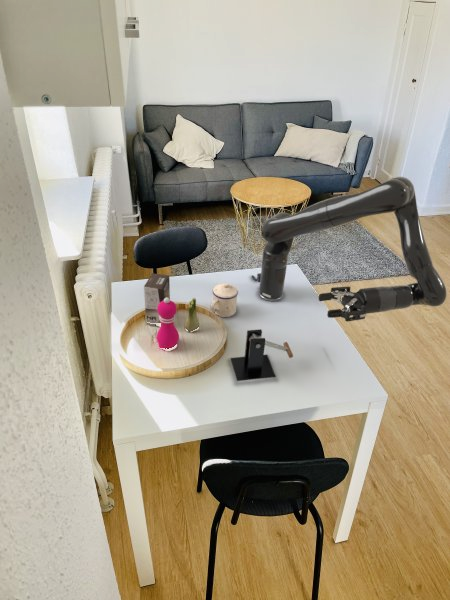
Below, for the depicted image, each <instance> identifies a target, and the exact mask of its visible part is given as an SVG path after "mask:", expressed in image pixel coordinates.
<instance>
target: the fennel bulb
mask: <svg viewBox="0 0 450 600" xmlns="http://www.w3.org/2000/svg"><path fill="white" fill-rule="evenodd" d="M196 307H197V299H196V297H193V298H192V299H191V300H190V301H189V305H188V306H187V309H188V315H187V317H186V320H185V323H184V329H185V328H186V329H187V330H188V331H193V330H195V329H197V328H198V327H199V328H200V321H199V318H198V315H197V312H196V310H197V309H196Z"/></svg>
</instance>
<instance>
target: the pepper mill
mask: <svg viewBox="0 0 450 600" xmlns="http://www.w3.org/2000/svg"><path fill="white" fill-rule="evenodd" d="M177 311H178V307H177V304H176V303H175V302H174V301H173V300H171V298H170V299H169V298H167V297H166V298H165V299H164V300H163V301H161V302H160V303H159V304H158V307H157V312H158V314H159V320H160V321H161V327H159V329H158V330H157V333H156V342H157V344H158V345H159V346H158V348H159V347H160V348H165V349H166V348H167V349H169V348H172V347H174V346H175V345H176V344H177V343H179V341H180V334H179V331H178V329H177V328H176V326H175V321H176V314H177ZM160 348H159V349H160Z"/></svg>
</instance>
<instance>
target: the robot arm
mask: <svg viewBox="0 0 450 600" xmlns="http://www.w3.org/2000/svg"><path fill="white" fill-rule="evenodd" d="M416 197H417V196H416V190H415V186H414V184H413V182H412V181H411V179H409V178H407V177H404V176H395V177H392V178H390V179H389V178H388V179H387V180H385V181H383V182H382V183H380V184H376V185H375V186H373V187H371V188H368V189H366V190H363V191H360V192H357V193H352V194H351V193H350V194H343V195H338V196H333V197H330V198H327V199H324V200H321V201H318V202H316V203H313V204H311V205H309V206H307V207H305V208H303V209H302V210H300V211H297V212H296V213H294V214H291V215H290V214H289V213H287V212H283V211H281V212H278V213H276V214H274V215H272V216H271V217H269V218H268V219H267V220H266V221H265V222H264V223H263V224H262V226H261V230H260V231H261V236H262V238H263V239H264V241H266V244H265V245H264V247H263V249H262V250H263V252H262V261H261V270H260V273H257V274H256V278H255V276H254V275H251V278H252V279H253V281H254V282H258V283H259V286H258V287H259V288H258V296H259V297H260V298H261V299H263V300H265V301H268V302H276V301H280V300H281V299H282V298H283V296H284V288H285V282H286V280H285V279H286V273H287V267H288V260H289V254H290V252H291V250H292V248H293V247H292V246H293V241H294V238H296V237H298V236H302V235H306V234H307V235H308V234H312V233H317V232H321V231H326V230H330V229H333V228H337V227H341V226H343V225H347V224H350V223H353V222H355V221H357V220H359V219H363V218H365V217H370V216H371V217H372V216H375V215H381V214H390V213H393V214H394V215H395V218H396V221H397V224H398V228H399V236H400V237H399V238H400V247H401V253H402V257H403V260H404V263H405V265H406V268H407V272H408V274H409V276H410V277H412V278H413V279H415V280H416V282H413V283H407V284H403V285H402V284H401V285H393V286H391V285H390V286H385V285H383V286H374V287H365V288H360V289H359V290H358V291H356V292H354V291H353V292H352V291H351V288H352V287H351V286H349V285H348V286H335V287H331V288H330V292H323V293H319V294H318V301H319V302H326V301H334V302H337V304H341V306H343V308H336V309H335V308H334V309H328V310H327V314H326V315H327V318H328V319H335V318H341V319H344V321H345V322H354V321H359V320H365V319H366V317H367V315H368V314H376V313H384V312H389V311H396V310H403V309H407V308H410V307H411V306H419V305H423V306H428V307H440V306H442V305H444V303H445V301H446V300H447V297H448V295H447V294H448V293H447V288H446V285H445V283H444V281H443V279H442V277H441V276H440V275H439V272H438V271H437V270H436V268H435V265H434V263H433V260H432V256H431V255H430V251H429V248H428V245H427V243H426V239H425V235H424V231H423V229H422V224H421V220H420V216H419V211H418V204H417V198H416Z"/></svg>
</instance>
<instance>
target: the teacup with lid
mask: <svg viewBox="0 0 450 600" xmlns="http://www.w3.org/2000/svg"><path fill="white" fill-rule="evenodd" d="M238 294H239V290H238V288H237V287H236V286H235V285H234V284H231V283H228V282H224V283H223V282H222V283H219V284H216V285H215V286H214V287H213V289H212V302H211V304H210V311H211V312H212V313H214V312H216V313H217V314H218V315H219V316H218V315H217V316H218V317H220V318H229V317H232V316H234V315H235V313H236V312H237V304H238V303H237V302H238Z"/></svg>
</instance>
